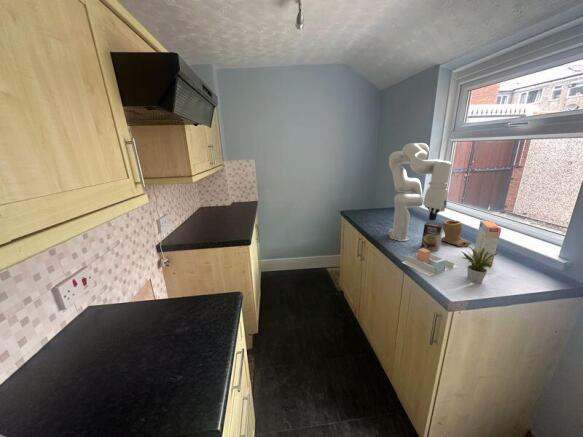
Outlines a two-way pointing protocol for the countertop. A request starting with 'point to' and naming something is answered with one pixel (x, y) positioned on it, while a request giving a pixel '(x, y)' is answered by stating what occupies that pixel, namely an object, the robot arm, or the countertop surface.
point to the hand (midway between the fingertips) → (432, 219)
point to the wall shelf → (430, 264)
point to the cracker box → (487, 239)
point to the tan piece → (454, 233)
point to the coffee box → (432, 236)
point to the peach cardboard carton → (423, 255)
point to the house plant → (478, 265)
